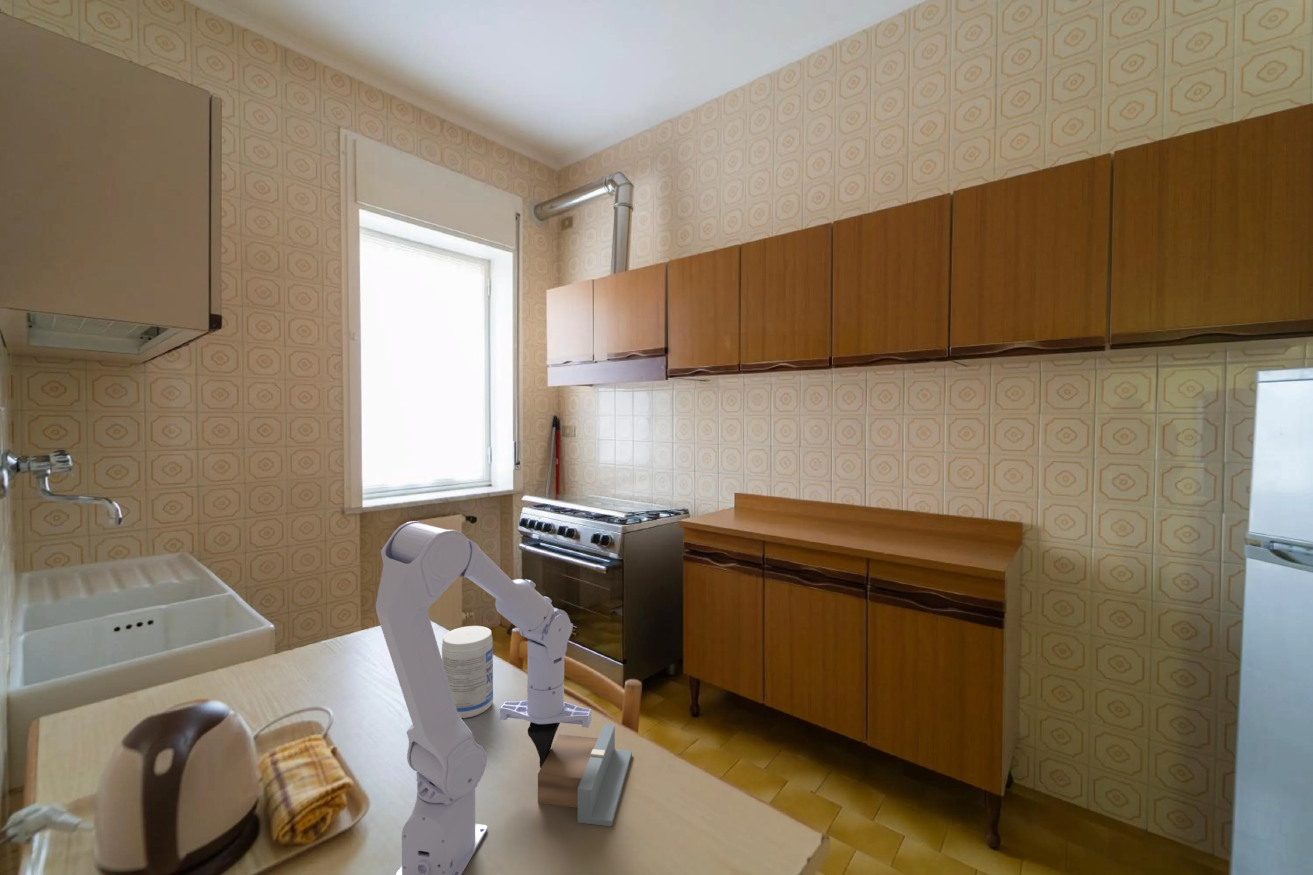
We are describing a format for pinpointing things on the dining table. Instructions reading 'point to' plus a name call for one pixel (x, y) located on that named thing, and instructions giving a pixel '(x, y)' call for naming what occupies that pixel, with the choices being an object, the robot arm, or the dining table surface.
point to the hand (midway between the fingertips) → (545, 764)
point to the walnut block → (564, 770)
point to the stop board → (603, 780)
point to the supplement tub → (469, 668)
